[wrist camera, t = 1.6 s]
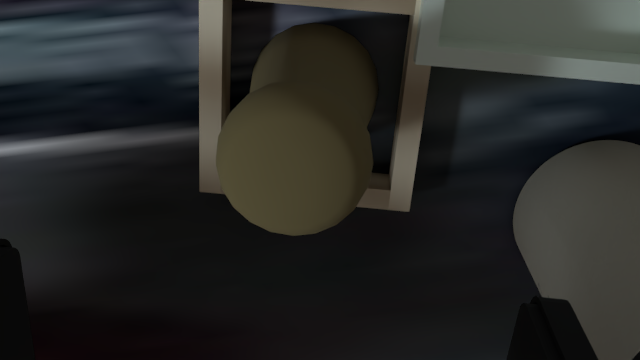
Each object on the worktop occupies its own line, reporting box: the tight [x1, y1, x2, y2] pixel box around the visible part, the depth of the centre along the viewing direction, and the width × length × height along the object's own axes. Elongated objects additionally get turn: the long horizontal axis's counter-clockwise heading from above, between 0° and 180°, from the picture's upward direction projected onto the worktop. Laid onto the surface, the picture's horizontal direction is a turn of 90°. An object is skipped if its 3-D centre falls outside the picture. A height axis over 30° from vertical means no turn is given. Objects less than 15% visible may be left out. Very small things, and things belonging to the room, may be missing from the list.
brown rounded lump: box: [216, 23, 379, 236], centre depth 24 cm, size 6×6×11 cm
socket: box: [199, 0, 431, 212], centre depth 28 cm, size 10×10×2 cm
